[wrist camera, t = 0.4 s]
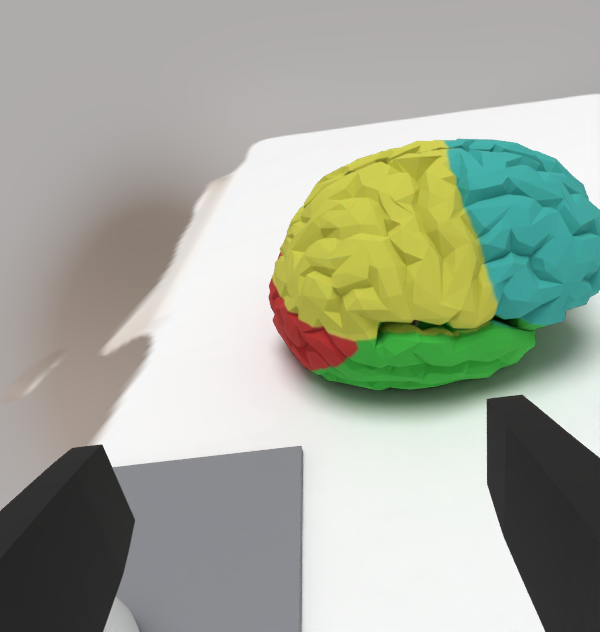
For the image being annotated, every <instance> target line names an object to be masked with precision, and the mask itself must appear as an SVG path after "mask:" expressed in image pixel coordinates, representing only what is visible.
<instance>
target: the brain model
mask: <svg viewBox="0 0 600 632" xmlns="http://www.w3.org/2000/svg"><path fill="white" fill-rule="evenodd" d="M280 251H281V252H280V254H279V257H278V260H277V261H276V262H275V270H274V274H273V276H272V279H271V282H270V284H269V288H270V294H269V301H270V305H271V308H272V310H273V312H274V313H275V315H274V318H273V322H274V325H275V327H276V329H277V331H278V333H279V334H280V335H281V337H282V338H283V340H284V341H285V343H286V344H287V346H288V347H289V349H290V350H291V351H292V352H293V354H294V356H295V357H296V358H297V359H298V360H299V361H300V362H301V363H302V364H303V365H304V366H305V367H306V368H307V369H308V370H310V371H312V372H314V373H315V374H317V375H322V376H323V377H324V378H325V379H326V380H327V381H334V382H340V383H345V384H350V385H354V386H359V387H363V388H368V389H373V390H384V389H386V388H389V387H391V388H400V389H408V390H413V389H421V388H429V387H436V386H440V385H444V384H448V383H452V382H456V381H460V380H465V379H476V378H488V377H490V376H491V375H492V374H494V373H495V372H496V371H497V370H498V369H500V368H503V367H506V366H510V365H513V364H516V363H518V362H519V360H520V359H521V358H522V357H523V356H524V355H525V353H526V352H528V351H529V350H530V349H532V348H533V347H534V346H535V345H536V341H535V330H534V329H537V328H541V327H545V326H548V325H552V324H555V323H559V322H563V321H564V319H565V314H566V310H569V309H572V308H575V307H579V306H582V305H585V304H587V302H588V300H589V298H590V297H591V296H593V295H595V294H597V293H598V292H599V290H600V210H599V209H598V208H597V207H596V206H594V205H593V204H592V203H591V202H590V201H589V199H588V195H587V194H586V191H585V188H584V185H583V184H582V183H581V182H579V181H578V180H577V179H576V178H574V177H573V176H572V175H571V174H570V173H569V172H568V171H567V170H566V169H565V168H564V167H563V166H562V165H561V163H560V162H559V161H558V160H557V159H555V158H553V157H550V156H548V155H545V154H543V153H540V152H538V151H533V150H530V149H528V148H526V147H524V146H522V145H520V144H518V143H514V142H506V141H499V140H482V139H457V140H456V141H455V140H434V141H416V142H414V143H411V144H408V145H406V146H403V147H401V148H394V149H389V150H387V151H381V152H379V153H376V154H374V155H370V156H366V157H363V158H360V159H357V160H355V161H354V162H352V163H351V164H349V165H346V166H343V167H341V168H339V169H337V170H335V171H333V172H332V173H330V174H328V175H326V176H324V177H323V178H322V179H321V180H320V181H319V182H318V183H317V184H316V185H315V187H314V188H313V190H312V192H311V193H310V195H309V196H308V198H307V200H306V201H305V203H304V205H303V206H302V207H301V208H300V209H299V210H298V212H297V213H296V215H295V216H294V218H293V219H292V220H291V223H290V226H289V228H288V231H287V235H286V238H285V240H284V243H283V245H282V246H281V248H280Z"/></svg>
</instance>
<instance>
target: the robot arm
mask: <svg viewBox="0 0 600 632" xmlns="http://www.w3.org/2000/svg"><path fill="white" fill-rule="evenodd" d="M487 485H488V488H489V491H490V494H491V498H492V501H493V504H494V508H495V511H496V514H497V517H498V520H499V523H500V527H501V530H502V533H503V536H504V539H505V541H506V543H507V546H508V548H509V550H510V553H511V555H512V557H513V559H514V562H515V564H516V566H517V568H518V571H519V573H520V575H521V578H522V580H523V582H524V584H525V587H526V589H527V591H528V593H529V596H530V598H531V600H532V602H533V605H534V607H535V609H536V611H537V614H538V616H539V618H540V620H541V623H542V625H543V627H544V629H545V632H600V458H599V457H598V456H597V455H595V454H594V453H593V452H592V451H590V450H589V449H588V448H587V447H585V446H584V445H583V444H582V443H580V442H579V441H578V440H577V439H575V438H574V437H573V436H572V435H571V434H569V433H568V432H567V431H566V430H564V429H563V428H562V427H561V426H560V425H558V424H557V423H556V422H555V421H554V420H552V419H551V418H550V417H549V416H548V415H546V414H545V413H544V412H543V411H542V410H540V409H539V408H538V407H537V406H536V405H534V404H533V403H532V402H531V401H529V400H528V399H527V398H526V397H524V396H523V395H516V396H507V397H499V398H490V399H487ZM134 524H135V518H134V516H133V514H132V511H131V509H130V507H129V504H128V502H127V500H126V498H125V495H124V493H123V491H122V489H121V486H120V484H119V482H118V479H117V477H116V475H115V473H114V470H113V468H112V466H111V463H110V461H109V459H108V457H107V454H106V452H105V450H104V448H103V445H94V446H85V447H77V448H72V449H71V450H69V451H68V452H67V453H66V454H64V455H63V456H62V457H61V458H59V459H58V460H57V461H56V462H54V463H53V464H52V465H51V466H50V467H49V468H48V469H46V470H45V471H44V472H43V473H42V474H41V475H40V476H39V477H37V478H36V479H35V480H34V481H33V482H32V483H31V484H30V485H29V486H27V487H26V488H25V489H24V490H23V491H22V492H21V493H20V494H19V495H18V496H16V497H15V498H14V499H13V500H12V501H11V502H10V503H9V504H8V505H6V506H5V507H4V508H3V509H2V510H1V511H0V632H103V631H104V628H105V625H106V622H107V620H108V617H109V614H110V611H111V608H112V605H113V603H114V600H115V597H116V594H117V591H118V588H119V585H120V582H121V579H122V576H123V573H124V569H125V565H126V561H127V557H128V553H129V548H130V543H131V538H132V534H133V529H134Z"/></svg>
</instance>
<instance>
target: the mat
mask: <svg viewBox="0 0 600 632" xmlns="http://www.w3.org/2000/svg"><path fill="white" fill-rule="evenodd" d="M112 468H113V470H114V473H115V475H116V477H117V479H118V482H119V484H120V486H121V489H122V491H123V493H124V495H125V498H126V500H127V502H128V504H129V507H130V509H131V511H132V514H133V516H134V518H135V524H134V529H133V534H132V538H131V543H130V548H129V553H128V557H127V561H126V565H125V569H124V573H123V576H122V579H121V582H120V585H119V588H118V591H117V594H116V597H117V598H118V599H119V600H120V601H121V602H122V603H123V604H124V605H126V606H127V607H128V609H129V610H130V612H131V613H132V615H133V617H134V619H135V621H136V624H137V626H138V628H139V631H140V632H301V595H302V488H303V451H302V447H301V446H295V447H287V448H278V449H269V450H261V451H252V452H243V453H234V454H226V455H217V456H208V457H199V458H191V459H182V460H173V461H164V462H156V463H147V464H138V465H130V466H121V467H112Z"/></svg>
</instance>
